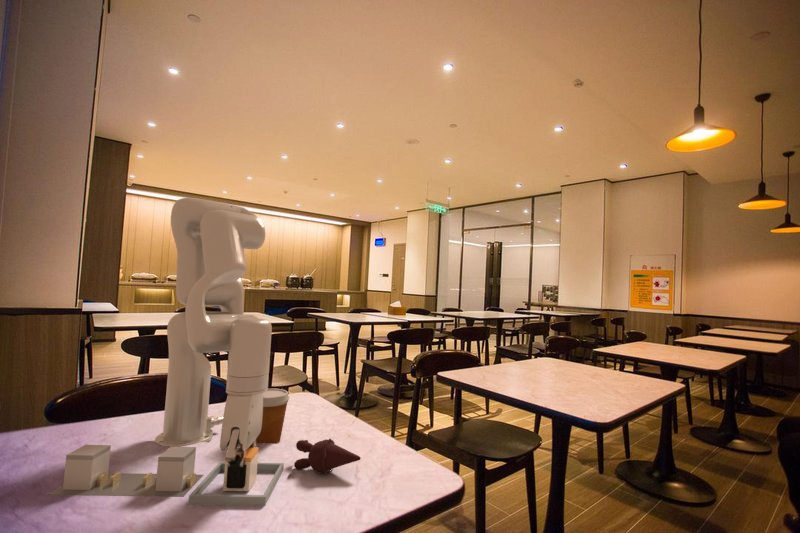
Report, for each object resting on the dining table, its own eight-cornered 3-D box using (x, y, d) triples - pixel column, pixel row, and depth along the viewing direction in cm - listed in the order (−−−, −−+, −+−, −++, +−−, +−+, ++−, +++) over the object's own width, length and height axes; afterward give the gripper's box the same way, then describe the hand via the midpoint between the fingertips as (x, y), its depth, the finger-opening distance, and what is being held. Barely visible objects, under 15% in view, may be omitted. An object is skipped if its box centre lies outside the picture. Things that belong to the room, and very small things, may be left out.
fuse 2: (169, 478, 74) (171, 446, 74) (193, 478, 74) (196, 447, 74) (155, 490, 69) (158, 456, 70) (181, 491, 69) (184, 457, 70)
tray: (218, 473, 78) (219, 461, 78) (283, 475, 79) (283, 463, 79) (187, 510, 65) (189, 495, 65) (264, 511, 66) (265, 497, 66)
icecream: (366, 438, 84) (304, 435, 88) (355, 441, 78) (288, 438, 81) (365, 473, 82) (301, 469, 85) (353, 480, 75) (284, 475, 79)
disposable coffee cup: (263, 452, 89) (267, 400, 90) (238, 442, 94) (242, 393, 95) (294, 440, 97) (297, 392, 98) (269, 431, 102) (273, 386, 103)
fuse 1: (82, 476, 73) (85, 444, 73) (107, 477, 73) (110, 445, 73) (62, 489, 68) (66, 455, 69) (89, 489, 68) (93, 455, 69)
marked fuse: (232, 478, 74) (234, 447, 75) (256, 478, 75) (258, 447, 75) (223, 490, 70) (225, 457, 70) (248, 491, 70) (251, 457, 71)
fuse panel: (82, 477, 74) (83, 464, 74) (203, 479, 76) (204, 466, 76) (47, 500, 66) (48, 484, 66) (183, 502, 68) (184, 487, 68)
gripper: (243, 372, 82) (236, 460, 81) (208, 394, 65) (199, 505, 64) (278, 373, 82) (272, 461, 81) (253, 395, 65) (245, 505, 64)
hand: (240, 479), depth 72 cm, fingers closed on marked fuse, 4 cm apart
